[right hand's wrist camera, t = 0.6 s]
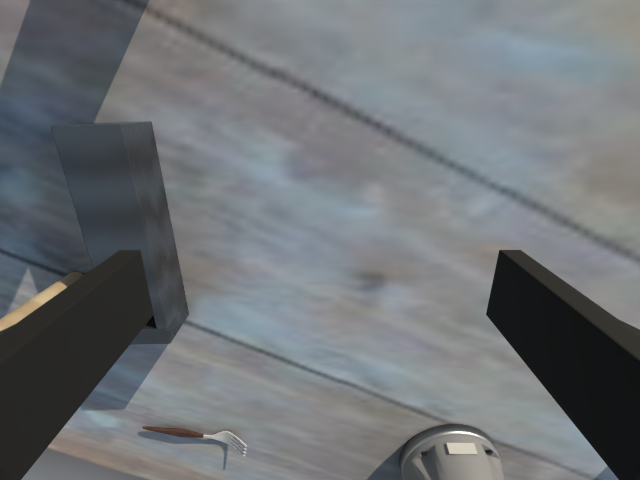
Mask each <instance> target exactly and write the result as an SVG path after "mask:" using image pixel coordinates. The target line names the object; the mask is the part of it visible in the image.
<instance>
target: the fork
mask: <svg viewBox="0 0 640 480" xmlns="http://www.w3.org/2000/svg"><path fill="white" fill-rule="evenodd" d="M143 428H144V429H147V430H150V431H155V432H160V433H165V434H169V435H174V436H180V437H197V438H211V439H215V440H218V441H221V442H223V443H226V444H228V445H230V446H232V447H233V448H235V449H236V450H237V451H239V452H240V453H241V454H242V455H243V456H244V457H245V455H244V454H243V453H242V452H241V451H240V450H239V449H241V450H242V451H243V452H244V453H246V452H245V451H244V450H243V449H242V448H241V447H240V446H242V447H243V448H244V449H245V450H247V449H246V448H245V447H244V446H243V445H242V444H244V445H245V446H246V447H247V445H246V444H245V443H244V442H242V441H241V440H240V439H239V438H238V437H237V436H235V435H234V434H232V433H231V432H229V431H222V432H219V433H217V434H214V435H205V434H201V433H197V432H193V431H189V430H184V429H175V428H160V427H143ZM233 437H234V438H236V439H237V440H239V441H240V442H241V443H242V444H240V443H239V442H238V441H237V440H236V439H234V438H233ZM234 441H235V442H236V443H238V444H239V445H240V446H238V445H237V444H236V443H235V442H234ZM233 444H234V445H236V446H237V447H238V448H239V449H238V448H236V447H235V446H234V445H233Z"/></svg>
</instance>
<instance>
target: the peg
mask: <svg viewBox="0 0 640 480" xmlns="http://www.w3.org/2000/svg"><path fill="white" fill-rule="evenodd" d="M82 276H84V274H82V273H80V272H72V273H69V274H68V275H66V276H65V277H63V278H62V279H60V280H59V281H57V282H56V283H54V284H53V285H51V286H50V287H48V288H47V289H45V290H44V291H42V292H40V293H39V294H37V295H36V296H34V297H33V298H31V299H30V300H28V301H27V302H25V303H24V304H22V305H21V306H19V307H18V308H16V309H15V310H13V311H12V312H10V313H9V314H7V315H6V316H4V317H3V318H1V319H0V331H2V330H4V329H6V328H8V327H10V326H12V325H14V324H16V323H18V322H19V321H20V320H22V319H23V318H25V317H26V316H27V315H29V314H30V313H32V312H33V311H35V310H36V309H37V308H39V307H40V306H42V305H43V304H44V303H46V302H47V301H49V300H50V299H51V298H53V297H54V296H56V295H57V294H58V293H60V292H61V291H63V290H64V289H65V288H67V287H68V286H70V285H71V284H73V283H74V282H75V281H77V280H78V279H80V278H81V277H82Z"/></svg>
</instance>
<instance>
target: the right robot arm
mask: <svg viewBox="0 0 640 480" xmlns="http://www.w3.org/2000/svg"><path fill="white" fill-rule="evenodd" d="M153 315H154V313H153V308H152V303H151V299H150V294H149V289H148V284H147V279H146V274H145V269H144V265H143V260H142V255H141V250H119V251H118V252H116V253H115V254H113V255H112V256H111V257H109V258H108V259H106V260H105V261H104V262H102V263H101V264H99V265H98V266H96V267H95V268H94V269H92V270H91V271H89V272H88V273H87V274H85V275H84V276H82V277H81V278H80V279H78V280H77V281H75V282H74V283H73V284H71V285H70V286H68V287H67V288H65V289H64V290H63V291H61V292H60V293H58V294H57V295H56V296H54V297H53V298H51V299H50V300H49V301H47V302H46V303H44V304H43V305H42V306H40V307H39V308H37V309H36V310H35V311H33V312H32V313H30V314H29V315H27V316H26V317H25V318H23V319H22V320H20V321H19V322H18V323H16V324H14V325H12V326H10V327H8V328H6V329H4V330H2V331H0V480H21V479H22V478H23V476H24V475H25V474H26V473H27V472H28V470H29V469H30V468H31V467H32V465H33V464H34V463H35V462H36V460H37V459H38V458H39V457H40V455H41V454H42V453H43V452H44V450H45V449H46V448H47V447H48V445H49V444H50V443H51V442H52V440H53V439H54V438H55V437H56V435H57V434H58V433H59V432H60V430H61V429H62V428H63V427H64V426H65V424H66V423H67V422H68V421H69V419H70V418H71V417H72V416H73V414H74V413H75V412H76V411H77V409H78V408H79V407H80V406H81V404H82V403H83V402H84V401H85V399H86V398H87V397H88V396H89V394H90V393H91V392H92V391H93V389H94V388H95V387H96V386H97V384H98V383H99V382H100V381H101V379H102V378H103V377H104V376H105V375H106V373H107V372H108V371H109V370H110V368H111V367H112V366H113V365H114V363H115V362H116V361H117V360H118V358H119V357H120V356H121V355H122V353H123V352H124V351H125V350H126V348H127V347H128V346H129V345H130V343H131V342H132V341H133V340H134V338H135V337H136V336H137V335H138V333H139V332H140V331H141V330H142V329H143V327H144V326H145V325H146V324H147V322H148V321H149V320H150V319H151V317H152V316H153ZM486 315H487V316H488V317H489V319H490V320H491V321H492V322H493V324H494V325H495V326H496V327H497V329H498V330H499V331H500V332H501V333H502V335H503V336H504V337H505V338H506V340H507V341H508V342H509V343H510V345H511V346H512V347H513V348H514V350H515V351H516V352H517V353H518V355H519V356H520V357H521V358H522V360H523V361H524V362H525V363H526V365H527V366H528V367H529V368H530V370H531V371H532V372H533V373H534V375H535V376H536V377H537V378H538V379H539V381H540V382H541V383H542V384H543V386H544V387H545V388H546V389H547V391H548V392H549V393H550V394H551V396H552V397H553V398H554V399H555V401H556V402H557V403H558V404H559V406H560V407H561V408H562V409H563V411H564V412H565V413H566V414H567V416H568V417H569V418H570V419H571V421H572V422H573V423H574V424H575V426H576V427H577V428H578V429H579V430H580V432H581V433H582V434H583V435H584V437H585V438H586V439H587V440H588V442H589V443H590V444H591V445H592V447H593V448H594V449H595V450H596V452H597V453H598V454H599V455H600V457H601V458H602V459H603V460H604V462H605V463H606V464H607V465H608V467H609V468H610V469H611V470H612V472H613V473H614V474H615V475H616V476H617V478H618V479H619V480H640V330H639V329H637V328H635V327H633V326H631V325H629V324H627V323H625V322H622V321H620V320H618V319H617V318H615V317H614V316H613V315H611V314H610V313H608V312H607V311H605V310H604V309H603V308H601V307H600V306H598V305H597V304H596V303H594V302H593V301H591V300H590V299H589V298H587V297H586V296H584V295H583V294H582V293H580V292H579V291H577V290H576V289H575V288H573V287H572V286H570V285H569V284H567V283H566V282H565V281H563V280H562V279H560V278H559V277H558V276H556V275H555V274H553V273H552V272H551V271H549V270H548V269H546V268H545V267H544V266H542V265H541V264H539V263H538V262H536V261H535V260H534V259H532V258H531V257H529V256H528V255H527V254H525V253H524V252H522V251H521V250H499V255H498V260H497V265H496V269H495V274H494V279H493V284H492V289H491V294H490V299H489V303H488V308H487V313H486ZM399 464H400V470H401V474H402V479H403V480H504V475H503V469H502V464H501V458H500V455H499V453H498V451H497V449H496V447H495V445H494V443H493V442H492V440H491V439H490V437H489V436H488V435H486V434H485V433H484V432H482V431H481V430H479V429H476V428H474V427H471V426H467V425H459V424H449V425H441V426H437V427H433V428H430V429H427V430H425V431H423V432H421V433H419V434H418V435H416V436H415V437H414V438H412V439H411V440H410V441H409V442H408V443H407V444H406V446H405V447H404V449H403V450H402V452H401V455H400V460H399Z"/></svg>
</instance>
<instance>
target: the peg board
mask: <svg viewBox="0 0 640 480" xmlns="http://www.w3.org/2000/svg"><path fill="white" fill-rule="evenodd" d="M51 129H52V132H53V135H54V139H55V142H56V146H57V149H58V152H59V156H60V159H61V162H62V166H63V169H64V172H65V176H66V179H67V183H68V186H69V189H70V193H71V196H72V199H73V203H74V206H75V210H76V213H77V216H78V220H79V223H80V226H81V230H82V233H83V237H84V240H85V243H86V247H87V250H88V253H89V257H90V260H91V264H92V267H93V269H94V268H95V267H96V266H98V265H99V264H101V263H102V262H104V261H105V260H106V259H108V258H109V257H111V256H112V255H113V254H115V253H116V252H118V251H119V250H141V255H142V260H143V265H144V269H145V274H146V279H147V284H148V289H149V294H150V299H151V303H152V308H153V313H154V315H153V316H152V317H151V319H150V320H149V321H148V322H147V324H146V325H145V326H144V327H143V329H142V330H141V331H140V332H139V333H138V335H137V336H136V337H135V338H134V340H133V341H132V342H131V343H130V344H163V343H171V342H172V340H173V338H174V337H175V335H176V334H177V332H178V331H179V329H180V327H181V326H182V324H183V323H184V321H185V320H186V318H187V316H188V315H189V312H188V307H187V302H186V297H185V292H184V287H183V281H182V276H181V271H180V266H179V261H178V256H177V251H176V246H175V240H174V235H173V230H172V225H171V220H170V215H169V210H168V205H167V199H166V194H165V189H164V184H163V179H162V174H161V169H160V163H159V158H158V153H157V148H156V143H155V138H154V133H153V128H152V122H120V123H89V124H74V125H59V126H51Z"/></svg>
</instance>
